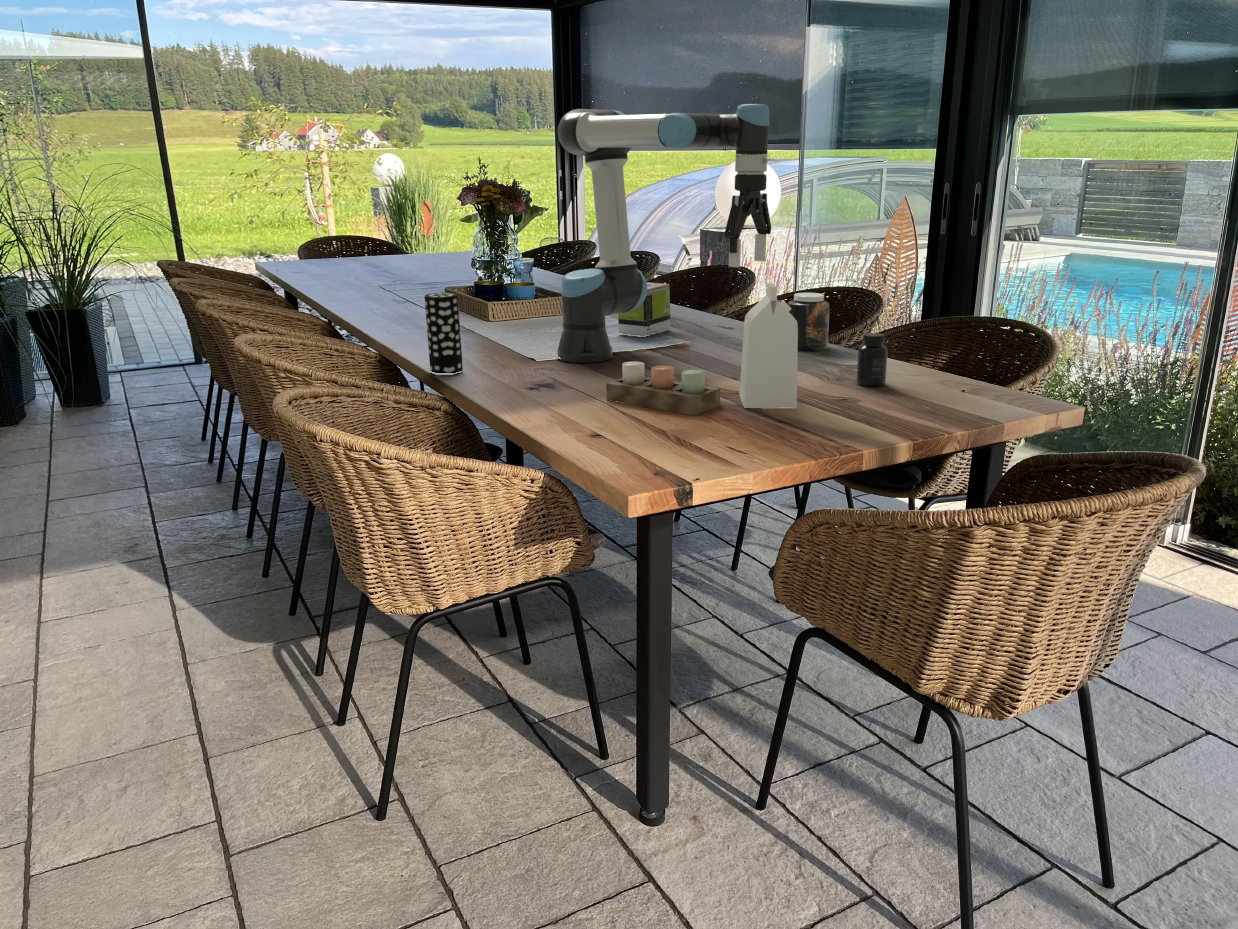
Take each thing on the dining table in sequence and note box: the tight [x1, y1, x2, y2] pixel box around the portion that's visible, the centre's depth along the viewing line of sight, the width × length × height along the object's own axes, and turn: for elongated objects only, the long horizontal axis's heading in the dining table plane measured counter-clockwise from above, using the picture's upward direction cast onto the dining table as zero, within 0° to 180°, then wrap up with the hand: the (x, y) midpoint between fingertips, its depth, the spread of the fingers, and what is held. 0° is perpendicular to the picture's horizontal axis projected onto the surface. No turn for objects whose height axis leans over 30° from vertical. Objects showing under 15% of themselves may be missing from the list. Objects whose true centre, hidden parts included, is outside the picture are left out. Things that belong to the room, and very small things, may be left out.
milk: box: [738, 282, 799, 409], centre depth 208 cm, size 12×12×26 cm
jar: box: [787, 292, 830, 352], centre depth 267 cm, size 12×12×15 cm
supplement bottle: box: [856, 332, 888, 387], centre depth 225 cm, size 7×7×12 cm
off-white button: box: [621, 361, 645, 385], centre depth 215 cm, size 5×5×5 cm
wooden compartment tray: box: [605, 376, 721, 416], centre depth 212 cm, size 24×10×4 cm, turn 54°
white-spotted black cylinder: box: [423, 292, 464, 373], centre depth 242 cm, size 8×8×20 cm
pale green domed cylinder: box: [681, 369, 706, 395], centre depth 206 cm, size 5×5×5 cm
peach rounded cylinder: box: [650, 365, 675, 390], centre depth 211 cm, size 5×5×5 cm
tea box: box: [617, 282, 671, 336], centre depth 291 cm, size 15×10×15 cm, turn 144°
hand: (747, 263), depth 232 cm, fingers open, 13 cm apart
